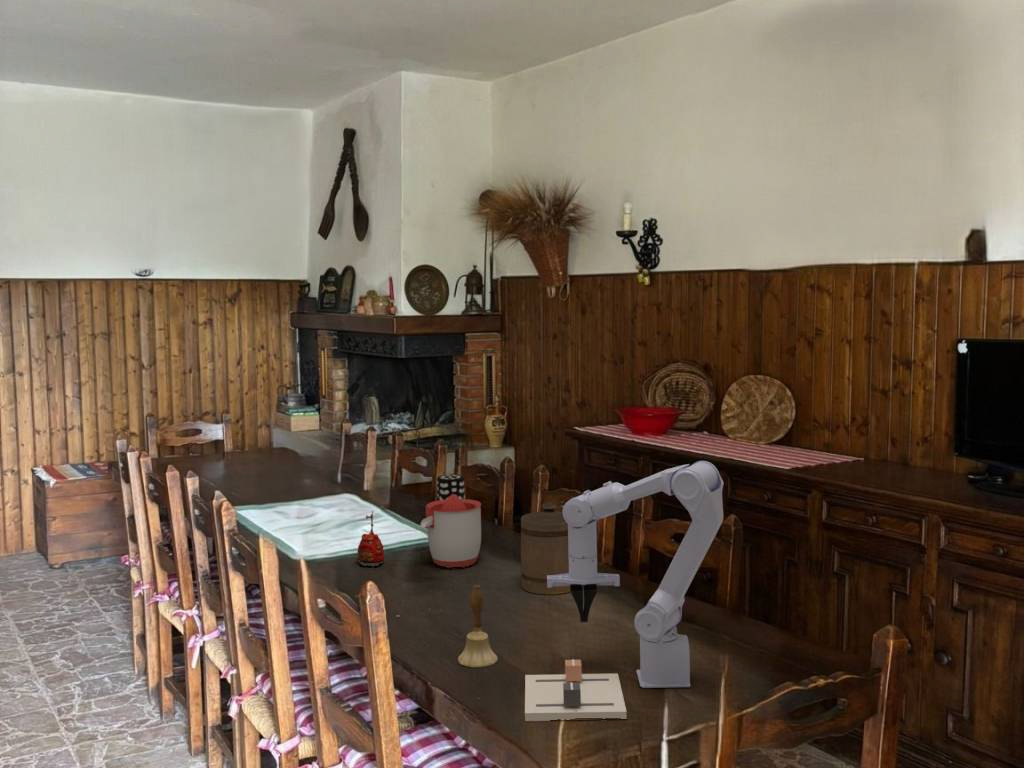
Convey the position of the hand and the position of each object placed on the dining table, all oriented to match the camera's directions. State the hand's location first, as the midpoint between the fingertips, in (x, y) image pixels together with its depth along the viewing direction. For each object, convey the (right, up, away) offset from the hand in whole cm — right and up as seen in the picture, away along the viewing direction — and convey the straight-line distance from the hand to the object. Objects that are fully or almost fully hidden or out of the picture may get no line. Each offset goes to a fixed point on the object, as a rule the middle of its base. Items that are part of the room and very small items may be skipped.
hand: (583, 620), depth 194 cm
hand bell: (-22, -10, +5) cm, 24 cm away
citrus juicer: (-31, -3, +76) cm, 82 cm away
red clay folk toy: (-54, -4, +78) cm, 95 cm away
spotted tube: (-33, -1, +101) cm, 106 cm away
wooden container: (-5, -5, +54) cm, 54 cm away
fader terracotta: (-3, -9, -10) cm, 14 cm away
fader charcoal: (-4, -10, -21) cm, 23 cm away
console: (-3, -11, -15) cm, 19 cm away
